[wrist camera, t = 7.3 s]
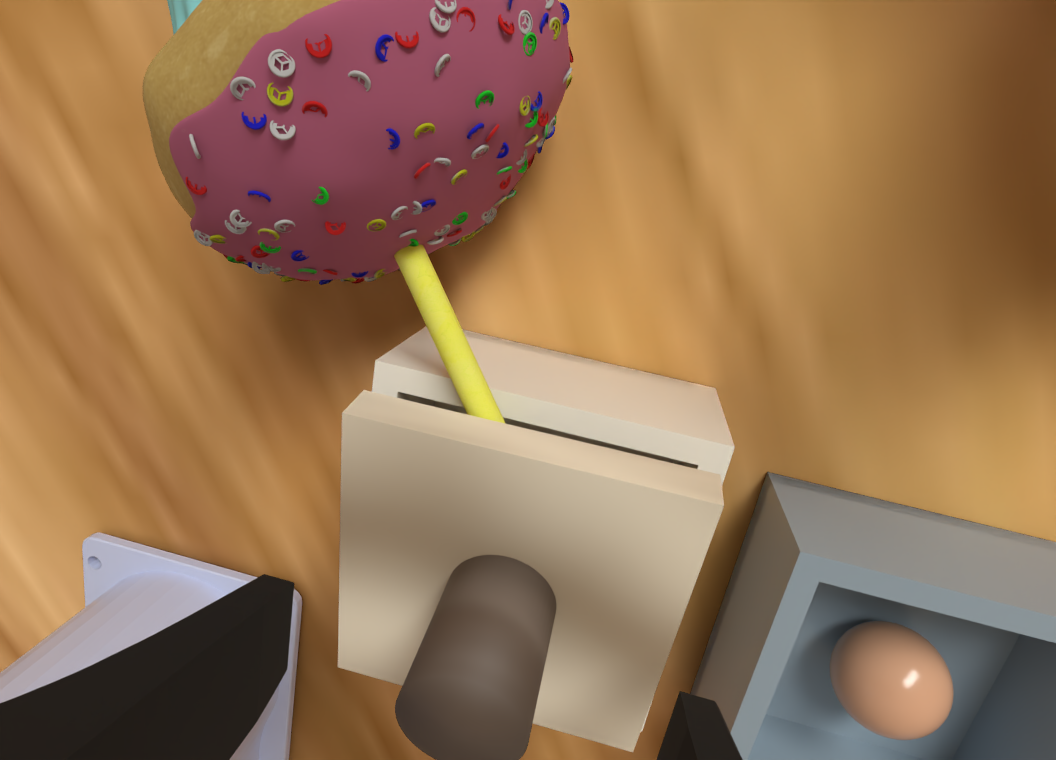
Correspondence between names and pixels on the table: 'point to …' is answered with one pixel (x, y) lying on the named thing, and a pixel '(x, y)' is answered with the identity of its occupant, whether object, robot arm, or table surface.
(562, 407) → the cream pot
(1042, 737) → the slate pot
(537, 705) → the lid
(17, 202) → the table surface
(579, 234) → the table surface
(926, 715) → the terracotta ball
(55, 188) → the table surface
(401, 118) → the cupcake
